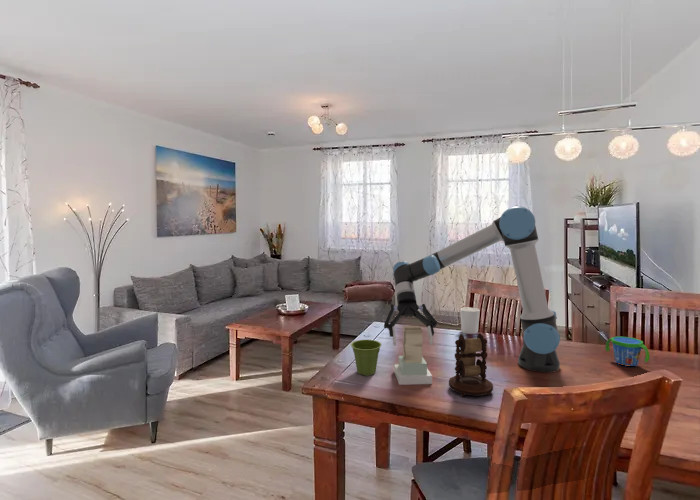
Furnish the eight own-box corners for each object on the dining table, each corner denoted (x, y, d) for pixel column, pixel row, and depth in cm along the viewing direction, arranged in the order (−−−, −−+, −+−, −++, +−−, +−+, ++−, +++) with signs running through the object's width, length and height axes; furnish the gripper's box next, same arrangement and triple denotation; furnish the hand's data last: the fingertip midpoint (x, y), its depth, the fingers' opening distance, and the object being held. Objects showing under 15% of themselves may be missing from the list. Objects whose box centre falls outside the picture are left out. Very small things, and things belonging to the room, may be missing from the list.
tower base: (394, 371, 154) (394, 354, 154) (424, 371, 155) (424, 353, 154) (399, 384, 142) (399, 365, 142) (432, 383, 143) (432, 365, 142)
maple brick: (403, 356, 151) (403, 326, 150) (418, 356, 151) (418, 325, 150) (406, 362, 145) (406, 330, 144) (422, 362, 145) (422, 330, 144)
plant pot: (345, 371, 155) (344, 343, 154) (368, 364, 162) (368, 337, 162) (364, 381, 146) (364, 351, 145) (387, 373, 153) (387, 344, 152)
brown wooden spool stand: (481, 380, 146) (482, 327, 144) (501, 398, 131) (502, 339, 129) (442, 382, 144) (443, 329, 142) (458, 401, 129) (459, 341, 128)
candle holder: (469, 335, 201) (469, 312, 200) (455, 330, 210) (456, 308, 209) (483, 332, 206) (483, 310, 205) (469, 328, 214) (470, 306, 213)
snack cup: (598, 359, 165) (599, 336, 165) (616, 356, 169) (617, 333, 168) (636, 373, 151) (637, 347, 150) (655, 369, 154) (656, 344, 153)
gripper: (434, 300, 163) (444, 347, 149) (374, 301, 162) (378, 349, 148) (438, 289, 157) (448, 337, 143) (375, 290, 156) (380, 339, 142)
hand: (413, 343), depth 146 cm, fingers open, 13 cm apart
